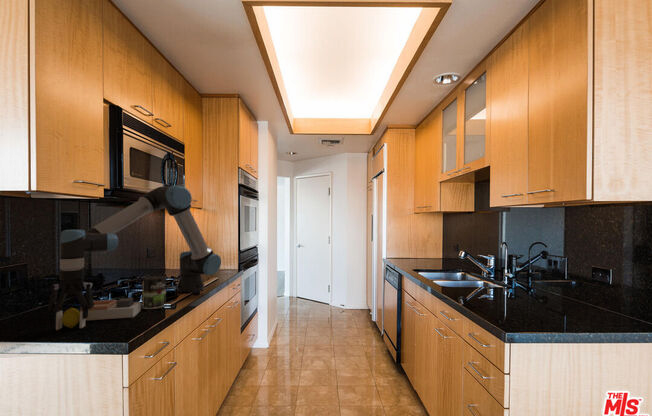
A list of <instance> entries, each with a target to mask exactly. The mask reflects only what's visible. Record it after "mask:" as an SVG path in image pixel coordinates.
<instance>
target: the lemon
mask: <svg viewBox="0 0 652 416" xmlns="http://www.w3.org/2000/svg"><path fill="white" fill-rule="evenodd" d="M63 312H64V313H63V316H62V325H64V326H65V327H67V328H69V329H73V327H75V326H76V325H78V324H79V323H80V311H79V310H78V309H77V308H74V307H70V308H68V309H67V310H65V311H63Z"/></svg>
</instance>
